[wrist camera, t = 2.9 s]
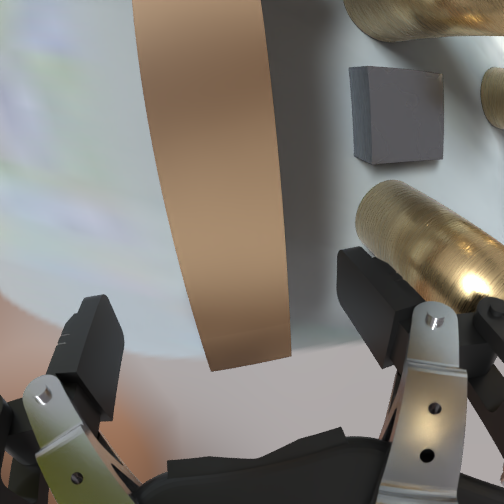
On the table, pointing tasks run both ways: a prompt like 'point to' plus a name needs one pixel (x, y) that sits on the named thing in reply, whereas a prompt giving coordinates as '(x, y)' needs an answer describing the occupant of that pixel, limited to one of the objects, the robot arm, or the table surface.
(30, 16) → the table surface
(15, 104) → the table surface
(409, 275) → the cylinder
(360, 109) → the grey square block
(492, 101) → the cylinder
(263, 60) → the rake
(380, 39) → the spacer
